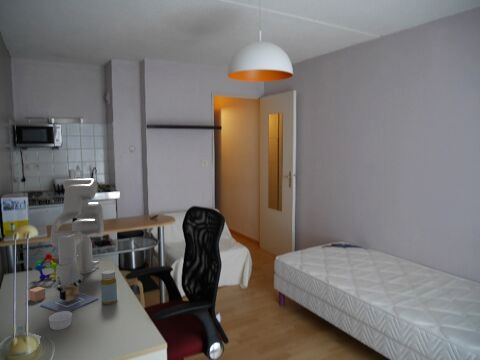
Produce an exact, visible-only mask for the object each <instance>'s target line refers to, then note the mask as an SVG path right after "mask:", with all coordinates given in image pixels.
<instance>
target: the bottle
mask: <svg viewBox="0 0 480 360" xmlns="http://www.w3.org/2000/svg"><path fill="white" fill-rule="evenodd" d="M117 288H118V287H117V278H116V270H115V269H105V270H102V271H101V280H100V292H101V293H100V294H101V295H100V296H101V303H102V304H104V305H112V304H114V303H116V302H117V301H118V293H117V291H118V289H117Z"/></svg>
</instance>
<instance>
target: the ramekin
mask: <svg viewBox="0 0 480 360" xmlns="http://www.w3.org/2000/svg"><path fill="white" fill-rule="evenodd" d="M72 317H73V313H72V311H71V312H69V311H61V312H54V313H53V314H51V315H49V317H48V321H49V327H50V329H51V330H54V331H59V330H60V331H61V330H64V329H66V328H69V327H70V326H71V325H72V320H73V319H72Z"/></svg>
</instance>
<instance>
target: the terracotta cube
mask: <svg viewBox="0 0 480 360" xmlns="http://www.w3.org/2000/svg"><path fill="white" fill-rule="evenodd" d="M28 295H29V296H28V297H29V301H31V302H32V301H33V302H35V303H36V302H39V301H42V300H44V299H46V288H44V287H41V286H37V287H33V288H31V289H28Z"/></svg>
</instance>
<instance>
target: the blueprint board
mask: <svg viewBox="0 0 480 360" xmlns="http://www.w3.org/2000/svg"><path fill="white" fill-rule="evenodd" d="M98 300H99V298H98V297H95V296H91V295H88V294H84V293H81V292H79V297H78V298H75V299H73V300H71V301H65V300H61V299H60V296H59V297H56V298H52V300H49V301H46V302H43V303H41V304H40V307H43V308H46V309H48V310H52V311H54V312H55V313H57V312H61V311H69V312H71V313H72V312H73V311H75V310H77V309H79V308H83V307H84V306H88V305H89V304H91V303H93V302H96V301H98Z"/></svg>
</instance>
